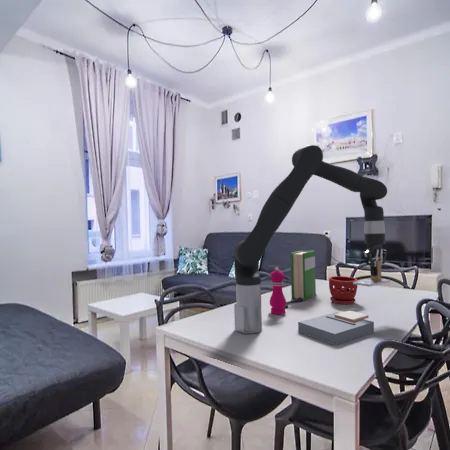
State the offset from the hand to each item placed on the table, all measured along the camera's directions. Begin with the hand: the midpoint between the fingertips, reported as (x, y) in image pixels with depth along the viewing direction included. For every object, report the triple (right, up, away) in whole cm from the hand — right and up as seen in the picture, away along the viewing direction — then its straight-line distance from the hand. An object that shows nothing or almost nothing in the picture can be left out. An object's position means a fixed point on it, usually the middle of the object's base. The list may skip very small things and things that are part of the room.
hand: (376, 275), depth 127 cm
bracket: (-28, -19, +29) cm, 45 cm away
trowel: (-2, -3, -2) cm, 4 cm away
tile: (-13, -14, -9) cm, 22 cm away
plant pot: (-3, -18, +27) cm, 33 cm away
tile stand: (-21, -18, -14) cm, 31 cm away
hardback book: (-18, -18, +42) cm, 50 cm away
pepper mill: (-37, -19, +13) cm, 44 cm away
